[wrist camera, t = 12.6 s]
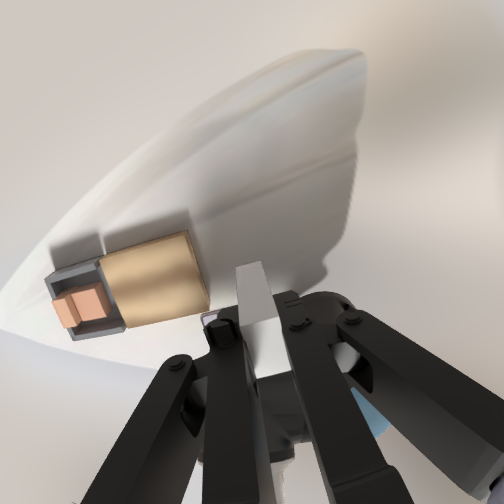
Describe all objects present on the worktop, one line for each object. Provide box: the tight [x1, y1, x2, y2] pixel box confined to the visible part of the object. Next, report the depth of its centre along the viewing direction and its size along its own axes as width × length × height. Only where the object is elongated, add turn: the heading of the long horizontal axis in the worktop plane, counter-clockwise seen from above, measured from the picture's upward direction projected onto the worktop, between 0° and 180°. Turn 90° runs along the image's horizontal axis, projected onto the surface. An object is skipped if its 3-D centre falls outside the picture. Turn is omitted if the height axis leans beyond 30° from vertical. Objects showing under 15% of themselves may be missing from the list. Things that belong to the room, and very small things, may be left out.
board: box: [99, 230, 210, 328], centre depth 43 cm, size 12×14×3 cm
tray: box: [44, 255, 127, 341], centre depth 42 cm, size 12×11×4 cm
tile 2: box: [71, 281, 112, 321], centre depth 42 cm, size 5×5×3 cm
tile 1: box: [51, 286, 82, 328], centre depth 41 cm, size 5×5×3 cm
